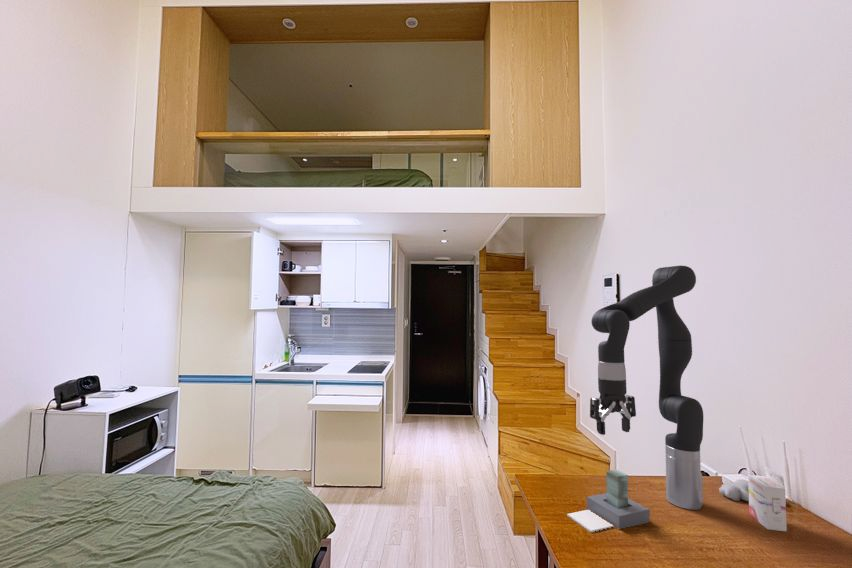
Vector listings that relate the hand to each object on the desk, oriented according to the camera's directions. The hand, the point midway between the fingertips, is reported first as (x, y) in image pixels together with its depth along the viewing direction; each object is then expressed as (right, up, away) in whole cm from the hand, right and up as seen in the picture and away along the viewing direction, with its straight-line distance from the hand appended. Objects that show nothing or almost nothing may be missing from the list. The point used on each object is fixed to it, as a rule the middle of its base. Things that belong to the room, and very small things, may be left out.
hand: (613, 432), depth 112 cm
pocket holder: (+1, -24, -1) cm, 24 cm away
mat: (-9, -23, -5) cm, 25 cm away
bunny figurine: (+50, -27, +13) cm, 58 cm away
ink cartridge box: (+43, -25, -2) cm, 50 cm away
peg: (+1, -24, -1) cm, 24 cm away
